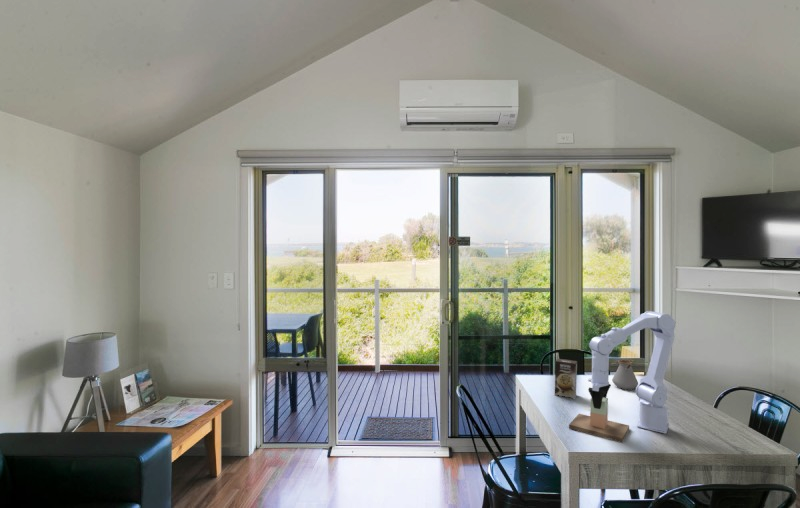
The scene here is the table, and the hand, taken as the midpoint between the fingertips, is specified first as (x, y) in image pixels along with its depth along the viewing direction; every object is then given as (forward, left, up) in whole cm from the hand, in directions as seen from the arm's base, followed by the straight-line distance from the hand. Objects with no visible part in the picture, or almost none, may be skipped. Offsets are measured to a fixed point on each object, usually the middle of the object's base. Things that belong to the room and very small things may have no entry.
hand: (599, 405), depth 156 cm
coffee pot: (0, -58, -9) cm, 59 cm away
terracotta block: (0, 0, -7) cm, 7 cm away
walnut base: (0, 0, -9) cm, 9 cm away
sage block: (0, 0, -2) cm, 2 cm away
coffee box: (+21, -31, -9) cm, 39 cm away
